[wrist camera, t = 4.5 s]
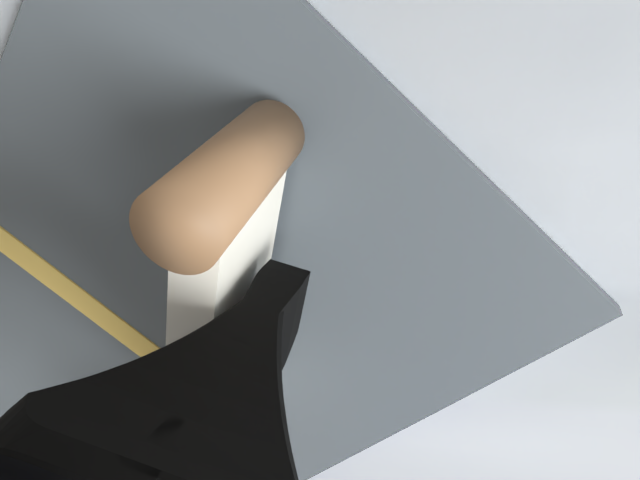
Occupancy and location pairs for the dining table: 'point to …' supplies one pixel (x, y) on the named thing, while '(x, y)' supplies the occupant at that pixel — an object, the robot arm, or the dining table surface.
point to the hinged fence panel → (218, 214)
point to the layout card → (293, 222)
